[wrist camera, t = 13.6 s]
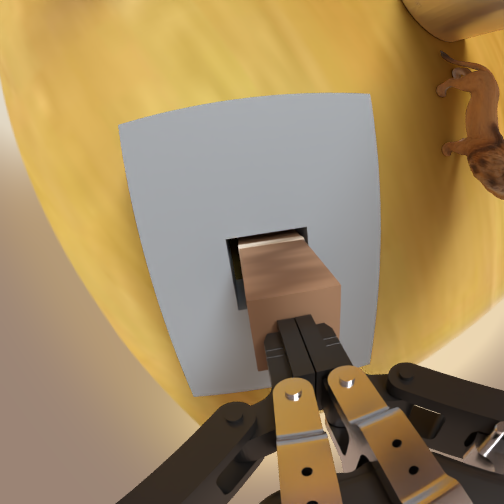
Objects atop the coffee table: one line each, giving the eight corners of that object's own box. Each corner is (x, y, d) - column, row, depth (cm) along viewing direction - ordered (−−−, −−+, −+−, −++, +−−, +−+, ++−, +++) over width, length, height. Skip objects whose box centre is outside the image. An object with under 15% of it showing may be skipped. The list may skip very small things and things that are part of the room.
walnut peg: (286, 218, 23) (342, 283, 11) (290, 264, 24) (339, 356, 13) (235, 225, 22) (244, 300, 11) (242, 272, 24) (257, 372, 13)
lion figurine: (473, 184, 23) (534, 202, 14) (443, 190, 23) (508, 211, 14) (452, 54, 18) (511, 41, 9) (418, 48, 18) (479, 26, 9)
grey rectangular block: (341, 103, 20) (370, 93, 15) (350, 333, 27) (369, 363, 23) (141, 130, 19) (118, 124, 14) (197, 360, 27) (193, 396, 22)
